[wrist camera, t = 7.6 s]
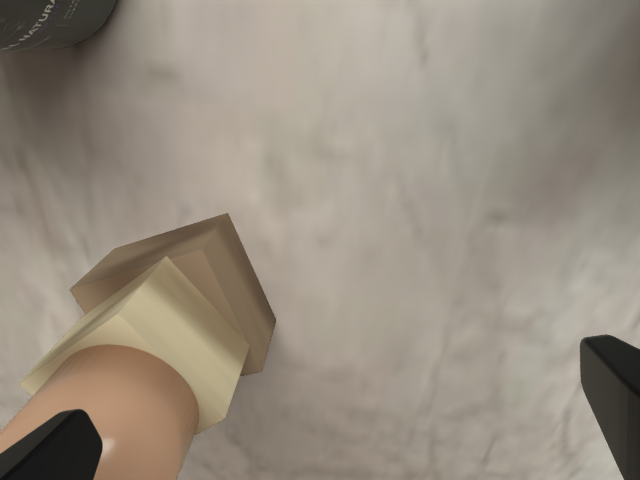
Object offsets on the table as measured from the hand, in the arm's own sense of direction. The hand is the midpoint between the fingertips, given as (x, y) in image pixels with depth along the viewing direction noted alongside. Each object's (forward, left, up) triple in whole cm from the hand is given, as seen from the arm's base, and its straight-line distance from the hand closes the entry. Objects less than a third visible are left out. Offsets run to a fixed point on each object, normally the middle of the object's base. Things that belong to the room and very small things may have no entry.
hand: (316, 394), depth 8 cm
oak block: (+8, +4, -9) cm, 13 cm away
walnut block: (+8, +4, -13) cm, 16 cm away
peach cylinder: (+8, +4, -5) cm, 10 cm away
